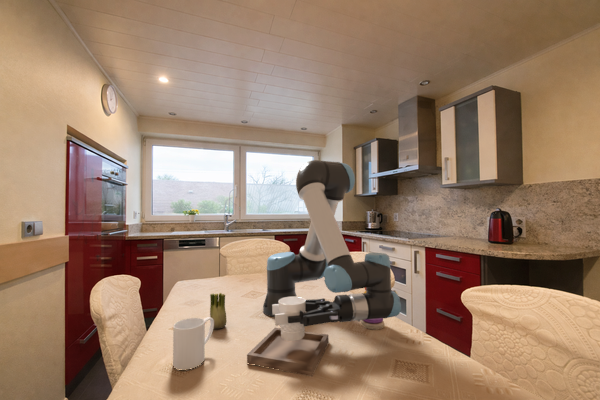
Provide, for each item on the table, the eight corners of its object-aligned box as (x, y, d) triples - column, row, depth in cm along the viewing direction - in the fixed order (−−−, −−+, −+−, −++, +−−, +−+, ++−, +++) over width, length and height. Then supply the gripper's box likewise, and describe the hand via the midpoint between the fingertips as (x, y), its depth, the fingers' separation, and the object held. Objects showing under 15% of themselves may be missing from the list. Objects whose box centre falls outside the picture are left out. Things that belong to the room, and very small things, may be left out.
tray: (247, 364, 71) (247, 354, 71) (275, 335, 88) (274, 327, 88) (312, 376, 65) (311, 365, 66) (328, 342, 82) (328, 334, 83)
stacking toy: (385, 331, 90) (383, 274, 91) (361, 329, 91) (359, 274, 93) (383, 322, 98) (381, 270, 99) (360, 320, 99) (359, 269, 100)
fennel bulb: (208, 327, 96) (208, 293, 96) (220, 323, 99) (220, 290, 100) (216, 332, 92) (216, 296, 92) (229, 327, 95) (229, 293, 96)
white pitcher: (185, 374, 67) (186, 331, 68) (166, 366, 71) (167, 325, 72) (222, 352, 77) (222, 315, 78) (203, 346, 81) (203, 311, 82)
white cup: (278, 331, 80) (278, 297, 81) (305, 329, 81) (304, 295, 82) (279, 343, 73) (278, 305, 73) (307, 341, 73) (307, 304, 74)
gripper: (364, 334, 70) (277, 344, 66) (338, 309, 90) (270, 315, 86) (363, 305, 71) (277, 313, 67) (337, 286, 91) (270, 291, 87)
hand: (273, 314), depth 76 cm, fingers closed on white cup, 7 cm apart
